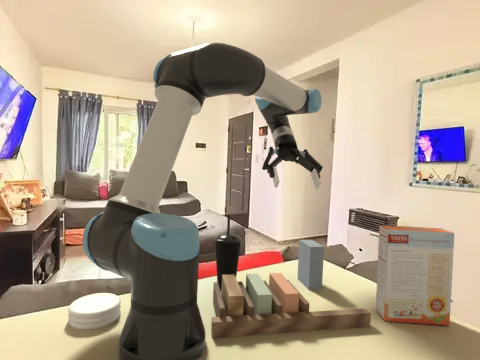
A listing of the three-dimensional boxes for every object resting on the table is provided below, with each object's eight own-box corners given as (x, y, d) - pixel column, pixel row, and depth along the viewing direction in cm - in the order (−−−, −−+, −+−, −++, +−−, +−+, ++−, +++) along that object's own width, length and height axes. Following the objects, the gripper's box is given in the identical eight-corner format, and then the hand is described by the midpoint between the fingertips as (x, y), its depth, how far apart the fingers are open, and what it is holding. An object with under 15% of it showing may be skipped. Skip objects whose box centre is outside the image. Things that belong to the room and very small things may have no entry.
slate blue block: (308, 289, 80) (310, 247, 80) (297, 278, 88) (299, 239, 88) (321, 289, 81) (324, 246, 81) (309, 278, 89) (311, 239, 89)
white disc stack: (104, 333, 56) (104, 316, 56) (56, 328, 57) (56, 311, 57) (128, 308, 66) (129, 293, 66) (87, 305, 67) (88, 290, 67)
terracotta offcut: (284, 326, 61) (285, 293, 61) (268, 300, 73) (269, 273, 73) (297, 325, 62) (299, 293, 62) (279, 300, 74) (280, 272, 73)
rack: (212, 337, 56) (213, 312, 56) (206, 302, 70) (207, 282, 70) (370, 326, 62) (371, 303, 62) (335, 296, 77) (336, 278, 76)
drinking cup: (228, 279, 86) (231, 212, 85) (245, 288, 80) (248, 216, 79) (206, 285, 81) (209, 214, 80) (223, 295, 75) (226, 218, 74)
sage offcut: (256, 328, 60) (258, 295, 60) (245, 301, 72) (246, 274, 72) (270, 327, 61) (272, 294, 61) (256, 301, 73) (257, 273, 72)
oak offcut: (228, 330, 59) (229, 296, 59) (221, 302, 71) (222, 274, 71) (242, 329, 60) (243, 295, 59) (233, 302, 71) (234, 274, 71)
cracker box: (434, 313, 69) (440, 227, 69) (450, 327, 63) (457, 232, 63) (373, 308, 71) (378, 223, 70) (383, 321, 65) (389, 228, 64)
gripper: (313, 151, 109) (330, 195, 95) (248, 147, 104) (256, 191, 90) (320, 136, 104) (340, 179, 89) (252, 130, 99) (261, 175, 85)
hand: (298, 185), depth 90 cm, fingers open, 13 cm apart
